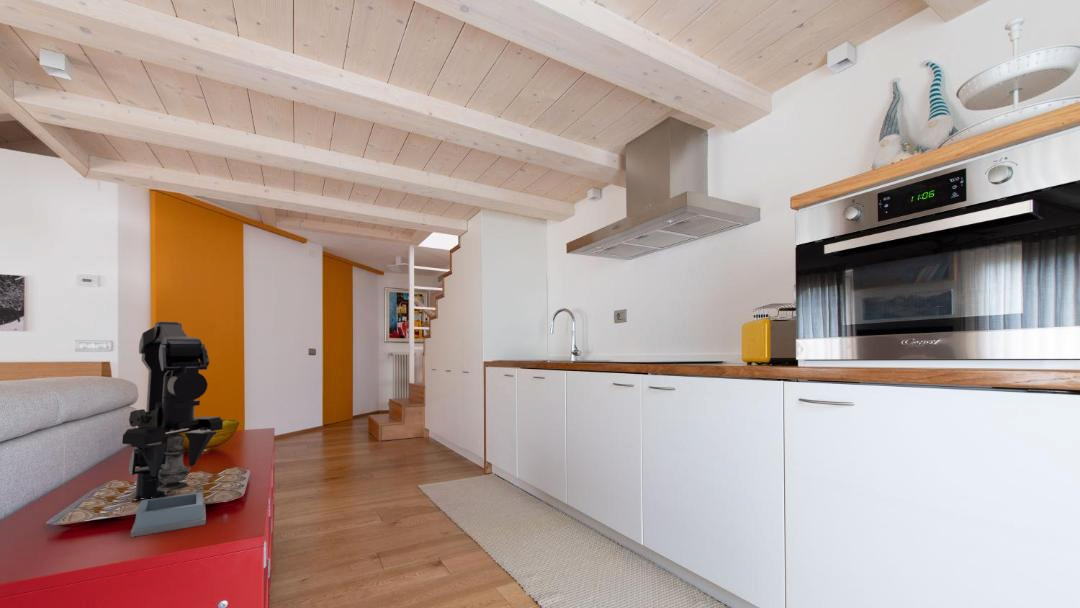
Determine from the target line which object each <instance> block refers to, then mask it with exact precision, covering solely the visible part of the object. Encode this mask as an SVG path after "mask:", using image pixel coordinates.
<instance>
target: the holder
mask: <svg viewBox="0 0 1080 608" xmlns="http://www.w3.org/2000/svg"><path fill="white" fill-rule="evenodd" d="M206 510H207V509H206V504H205V503H204V491H199V492H193V493H192V492H191V493H183V494H178V495H169V496H165V497H158V498H151V499H143V500H140V503H139V506H138V509H137V511H136V514H135V520H134V521H133V522H134V523H133V524H132V528H131V530H130V538H135V536H136V537H140V536H146V535H152V533H153V534H157V533H164V532H170V531H174V530H176V531H177V530H181V529H186V528H192V527H198V526H203V525H204V526H205V525H206V524H207V523H206V522H207V514H206Z"/></svg>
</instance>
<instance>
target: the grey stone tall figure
mask: <svg viewBox="0 0 1080 608" xmlns="http://www.w3.org/2000/svg"><path fill="white" fill-rule="evenodd" d="M184 441H185V437H184V435H183V434H181V433H179V434H174V435H171V436H169V438H168V440H167V451H166V452H165V453H164V454H166V462H165V465H164V468H162V469H161V470H160V471H159V474H158V479H159V481H161V482H162V483H165V484H163V485H161V486H160V487H158V488H157V490H158V491H167V492H168V491H171V492H172V491H176V490H182V489H184V488H187V487H188V486H189V484H188V483H187V482H184V480H185V479H186V478H187V477H188V475H189V473H190V471H191V466H186V465H185V464H184V453H185V452H186V450H185V449H184V444H185V443H184Z"/></svg>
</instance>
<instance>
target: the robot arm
mask: <svg viewBox="0 0 1080 608" xmlns="http://www.w3.org/2000/svg"><path fill="white" fill-rule="evenodd" d="M138 353H139V355H140V354H141V362H142V363H143V364H144V366H145V368H146V369H147V370H148V380H147V392H146V393H147V396H146V409H142V408H141V409H135V410H133V411H132V410H131V411H130V413H129V417H128V422H129V425H130V426H131V427H132V428H129V429H126V431H124V433H122V440H121V443H122V445H129V446H130V447H132V451H131V456H130V459H129V461H128V462H129V464H128V473H129V474H130V475H131V476H134V475H136V482H135V483H136V485H135V492H133V493H134V494H133V496H132V498H131V500H132V499H141V498H151V497H158V498H162V497H163V496H165V497H167V494H168V491H158V490H157V488H158V487H160V486H161V485H163V484H166V483H162V482H161V481H159V479H158V474H159V471H160V470H161V469H162V468H164V465H165V462H166V454H164V453H165V452H166V451H167V440H168V438H169V436H171V435H174V434H183V433H184V435H185V437H186V438H187V440H188V467H194V466H196V463H197V462H198V461H199V459H200V458H201V456H202V454H203V451H204V450H205V449H206V447H207V446H208V444H209V443H210V441H211V439H212V438H213V437H214V436H215V435H217V434H218V433H217V432H218V431H220V430H223V427H224V425H223V423H224V421H223V420H222V418H221V416H205V415H203V416H199V417H198V416H197V417H195V407H196V406H197V407H198V406H200V405H201V404H200V402H201V401H200V400H197V399H200V398H201V397H202V396H203V395H204V394H205V393H206V391H207V390H208V382H207V379H206V377H205V376H204V375H203V374H202V373H199V371H204V370H205V371H207V370H208V367H209V365H210V358H209V354H208V350H207V348H206V346H205V344H204V343H202V340H201V339H200V338H198V337H194V336H193V337H192V336H188V335H187V333H185V331H184V330H183V325H182V323H181V322H178V321H158V322H155V323H154V326H153V327H151V328H150V329H148V330H145V331H144V332H142V334H141V336H140V340H139V344H138ZM151 499H152V498H151Z"/></svg>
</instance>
